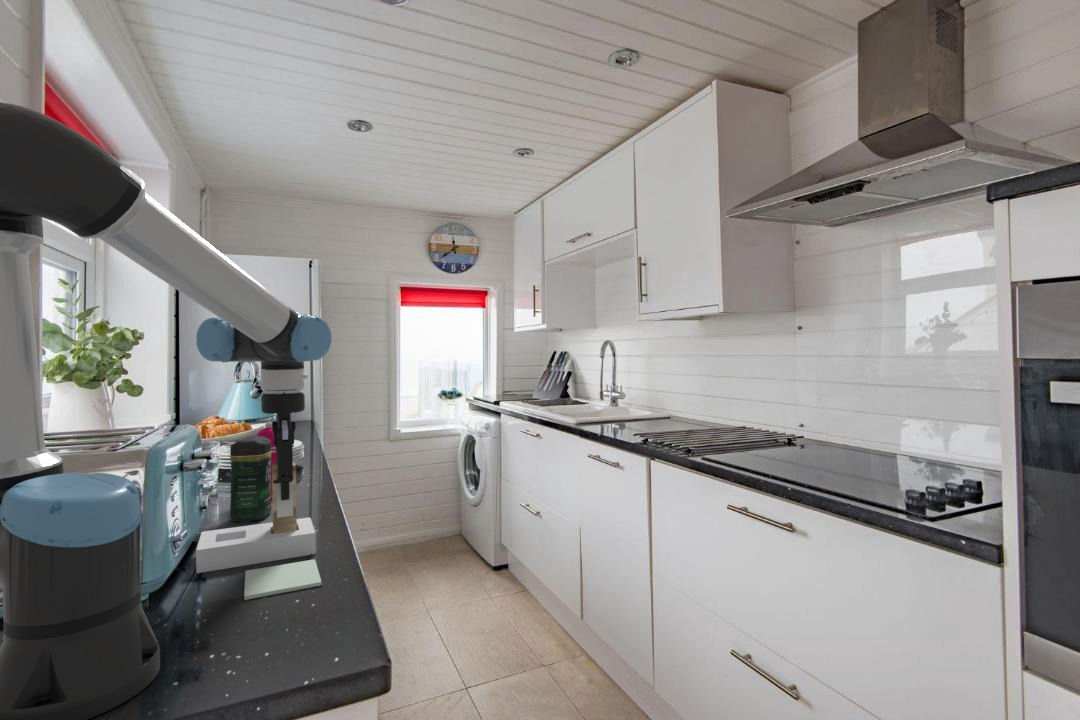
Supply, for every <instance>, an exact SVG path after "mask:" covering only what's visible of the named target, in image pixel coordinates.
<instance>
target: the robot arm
mask: <svg viewBox="0 0 1080 720" xmlns="http://www.w3.org/2000/svg"><path fill="white" fill-rule="evenodd" d="M145 189H146V188H145V182H144V180H143V179H142V178H141V177H140V176H138V175H137V174H136V173H135V172H134V171H132V170H131V169H130V168H129V167H128V166H127V165H124V163H122V162H121V161H120V160H119V159H117V158H116V157H115V156H113V155H112V154H110V153H109V152H108V151H106V150H105V149H103V148H102V147H101V146H100V145H98V144H97V143H95V142H94V141H92V140H91V139H89V138H87V137H86V136H85V135H83V134H81V133H80V132H78V131H76V130H75V129H73V128H71V127H69V126H67V125H66V124H64V123H63V122H61V121H58V120H57V119H54V118H53V117H50V116H48V115H47V114H44V113H41V112H39V111H36V110H33V109H31V108H28V107H25V106H21V105H17V104H13V103H7V102H3V101H0V589H1V590H2V613H3V614H2V617H3V634H2V635H3V636H2V637H3V639H2V643H1V645H0V720H89V719H92V718H95V717H96V716H99V715H102V714H104V713H106V712H108V711H111V710H112V709H115V708H117V707H118V706H121V705H122V704H124V703H125V702H128V701H129V700H131V699H132V698H135V696H137V695H138V694H140V693H141V692H142V691H143V690H145V689H146V688H147V687H148V686H149V685H151V684H152V682H153V681H154V680H155V678H156V677H157V676H158V674H159V672H160V668H161V650H160V649H161V648H160V645H159V642H158V639H157V638H156V635H155V633H154V631H153V629H152V627H151V624H150V623H149V620H148V618H147V615H146V614H145V611H144V609H143V606H142V564H141V563H142V562H141V561H142V559H141V558H142V556H141V554H142V553H141V551H142V550H141V548H142V547H141V545H142V544H141V543H142V542H141V536H142V535H141V520H142V518H143V511H142V506H141V499H140V495H139V490H138V487H137V486H136V484H135V483H134V482H133V481H132V480H131V479H129V478H127V477H123V476H121V475H116V474H114V473H113V474H112V473H104V472H94V473H87V472H67V473H65V472H64V463H63V461H64V460H63V458H62V457H61V456H59V455H57V454H56V453H54V452H53V451H51V450H49V449H48V448H47V447H46V443H45V431H44V421H43V420H44V419H43V411H42V409H43V407H42V399H41V384H40V376H39V375H40V374H39V373H40V372H39V363H38V352H37V338H36V328H35V316H34V306H33V304H34V303H33V294H32V282H31V281H32V280H31V270H30V269H31V268H30V259H29V256H30V254H31V253H32V251H34V250H35V249H37V248H38V247H40V246H41V245H42V244H44V242H45V241H44V239H45V238H44V229H43V228H44V226H43V219H45V220H48V221H51V222H54V223H55V224H59V225H60V226H62V227H64V228H66V229H68V230H69V231H71V232H72V233H74V234H75V235H77V236H78V237H80V238H82V239H86V240H87V239H88V240H89V239H100V240H101V241H102V242H104V243H106V244H107V245H108V246H110V247H111V248H113V249H114V250H116V251H118V252H120V254H122V255H124V256H126V258H129V260H131V261H133V262H135V263H136V264H137V265H139V266H141V267H142V268H144V269H145V270H147V271H148V272H149V273H151V274H153V275H154V276H155V277H157V278H159V279H160V280H162V281H163V282H165V284H168V285H169V286H171V287H172V288H174V289H176V290H177V291H178V292H180V293H181V294H183V295H184V296H186V297H187V298H189V299H191V300H192V301H194V302H195V303H197V304H198V305H200V306H201V307H202V308H204V309H206V310H207V311H209V312H210V313H212V314H213V315H214V316H216V317H209V318H207V319H205V320H203V321H202V322H201V323H200V325H199V326H198V328H197V331H196V336H195V337H196V347H197V350H198V352H199V354H200V355H201V356H202V358H203V359H205V360H207V361H209V362H218V363H219V362H221V363H223V364H224V363H228V362H233V363H234V362H235V363H236V362H242V363H243V362H244V363H245V362H249V363H250V362H252V363H253V362H260V389H261V390H262V391H264V393H262V395H261V398H260V399H261V402H260V403H261V408H260V409H261V412H262V414H268V415H271V414H272V415H273V414H274V415H276V421H271V422H272V431H273V433H274V445H275V446H276V463H277V470H278V477H277V480H273V484H276V483H277V518H279V517H287V516H293V481H292V480H293V462H294V460H293V457H294V456H293V445H294V444H295V431H296V422H295V420H291V417H292V416H291V414H293V413H294V414H296V413H301V412H303V411H304V410H305V401H306V399H305V398H306V395H305V393H304V392H303V391H302V390H304V389H305V379H306V380H307V379H308V378H309V377H308V374H307V373H304V372H305V370H304V369H305V362H313V361H314V362H315V361H319V360H321V359H322V358H323V359H324V357H325V356H326V355H327V353H328V352H329V350H330V348H331V344H332V331H331V328H330V327H329V324H328V323H327V322H326V320H325V319H323V318H322V317H321V316H316V315H310V314H301V313H300V312H298V311H295V310H294V309H292V308H291V307H289V306H288V305H287V304H286V303H285V302H284V301H282V300H280V299H279V298H278V297H277V296H276V295H275V294H273V293H272V292H271V291H269V290H268V288H266V287H265V286H263V285H262V284H261V283H260V282H258V281H257V280H256V279H254V278H253V277H252V276H250V274H248V273H247V272H246V271H245V270H243V269H241V268H240V267H239V266H238V265H237V264H236V263H234V262H233V261H232V260H230V259H229V258H228V257H227V256H225V255H224V254H223V252H222V253H221V252H220V251H219V250H218V249H216V248H215V247H214V246H213V245H212V244H210V243H209V242H208V241H207V240H205V239H204V238H202V237H201V236H200V235H199V234H198V233H197V232H195V231H194V230H193V229H191V227H189V226H188V225H187V224H185V223H184V222H182V221H181V220H180V219H179V218H178V217H177V216H175V215H174V214H173V213H171V212H170V211H169V210H167V209H166V208H165V207H164V206H162V205H161V204H160V203H158V202H157V200H155V199H153V198H152V197H151V196H150V195H149V194H147V192H146V190H145ZM301 391H302V392H301Z"/></svg>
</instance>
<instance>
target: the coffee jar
mask: <svg viewBox="0 0 1080 720" xmlns="http://www.w3.org/2000/svg"><path fill="white" fill-rule="evenodd" d="M229 455H230V456H229V457H230V504H229V505H230V507H229V513H230V514H229V517H230V520H231V521H233V522H240V523H250V522H252V521H256V520H263V519H264V518H266V517H267V516H268V515H269V514H270V513H271V512H272V510H273V504H272V500H271V440H269V439H268V438H266V437H265V436H257V435H252V436H251V435H250V436H247V437H246V438H242V439H239V440H238V441H236V442H234V443H232V444H231V445H230V453H229Z"/></svg>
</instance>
